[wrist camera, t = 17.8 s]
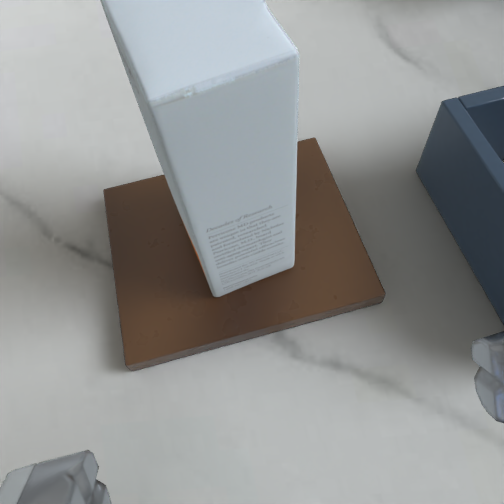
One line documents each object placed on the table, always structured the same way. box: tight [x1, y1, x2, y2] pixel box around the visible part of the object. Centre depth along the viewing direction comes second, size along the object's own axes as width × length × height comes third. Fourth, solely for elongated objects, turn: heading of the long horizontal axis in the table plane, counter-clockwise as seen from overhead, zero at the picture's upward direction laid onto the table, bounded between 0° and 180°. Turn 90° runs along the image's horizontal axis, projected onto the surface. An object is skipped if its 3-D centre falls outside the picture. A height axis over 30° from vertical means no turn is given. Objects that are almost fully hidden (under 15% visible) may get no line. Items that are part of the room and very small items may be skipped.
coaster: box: [103, 138, 385, 371], centre depth 23 cm, size 12×10×1 cm
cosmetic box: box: [101, 0, 300, 297], centre depth 18 cm, size 6×4×12 cm
